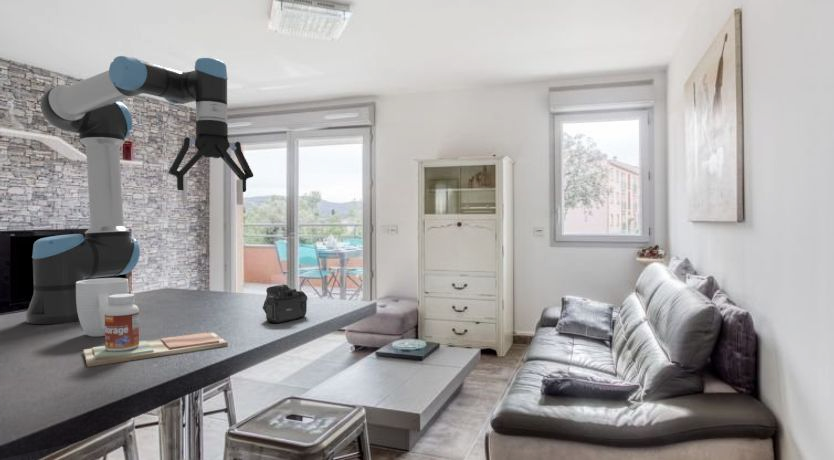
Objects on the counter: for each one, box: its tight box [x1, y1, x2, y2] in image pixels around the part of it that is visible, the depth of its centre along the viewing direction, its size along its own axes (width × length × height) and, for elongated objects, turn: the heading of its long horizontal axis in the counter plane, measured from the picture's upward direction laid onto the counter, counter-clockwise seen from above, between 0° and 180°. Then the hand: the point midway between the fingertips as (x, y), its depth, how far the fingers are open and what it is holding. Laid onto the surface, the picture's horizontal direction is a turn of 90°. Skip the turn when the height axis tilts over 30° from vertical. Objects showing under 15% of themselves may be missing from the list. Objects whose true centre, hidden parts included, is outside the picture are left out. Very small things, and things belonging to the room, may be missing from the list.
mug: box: [76, 277, 130, 338], centre depth 122 cm, size 15×11×13 cm
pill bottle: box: [104, 293, 140, 352], centre depth 105 cm, size 6×6×11 cm
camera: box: [262, 283, 308, 324], centre depth 140 cm, size 13×10×10 cm
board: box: [83, 331, 229, 368], centre depth 109 cm, size 12×26×1 cm, turn 126°
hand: (213, 204), depth 131 cm, fingers open, 13 cm apart
